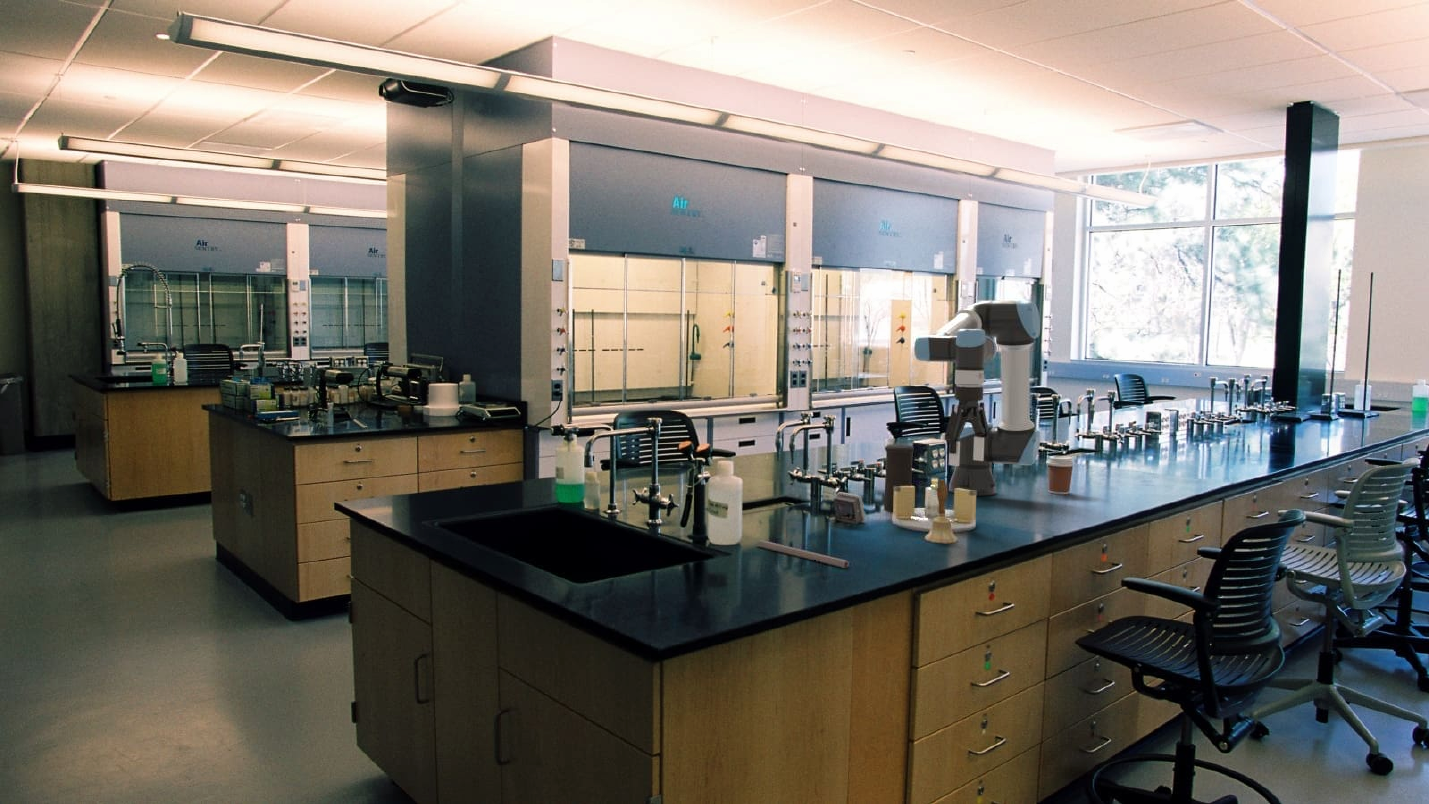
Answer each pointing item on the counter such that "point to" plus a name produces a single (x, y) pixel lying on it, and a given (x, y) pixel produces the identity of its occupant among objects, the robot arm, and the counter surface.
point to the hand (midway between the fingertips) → (966, 463)
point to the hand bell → (941, 520)
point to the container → (897, 470)
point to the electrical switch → (849, 508)
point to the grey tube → (803, 553)
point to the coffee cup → (1060, 474)
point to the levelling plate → (928, 522)
